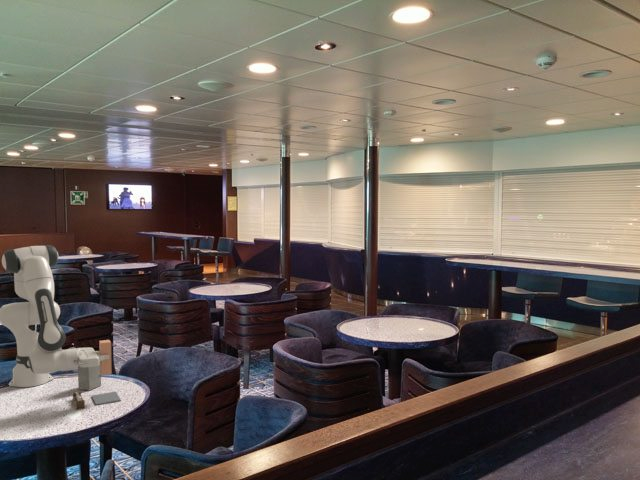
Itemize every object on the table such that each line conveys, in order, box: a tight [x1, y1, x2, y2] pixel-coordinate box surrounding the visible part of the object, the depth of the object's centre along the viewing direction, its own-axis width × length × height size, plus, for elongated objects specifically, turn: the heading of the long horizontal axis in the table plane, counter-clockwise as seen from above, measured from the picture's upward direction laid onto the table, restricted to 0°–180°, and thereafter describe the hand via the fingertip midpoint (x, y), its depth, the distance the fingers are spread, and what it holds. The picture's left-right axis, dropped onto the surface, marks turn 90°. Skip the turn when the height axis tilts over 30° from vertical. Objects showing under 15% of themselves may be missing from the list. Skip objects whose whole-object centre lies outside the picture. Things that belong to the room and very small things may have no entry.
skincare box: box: [77, 361, 102, 391], centre depth 241 cm, size 8×7×16 cm
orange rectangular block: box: [98, 339, 113, 376], centre depth 226 cm, size 5×4×14 cm
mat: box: [91, 391, 121, 406], centre depth 227 cm, size 12×10×1 cm
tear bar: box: [72, 390, 86, 410], centre depth 221 cm, size 14×3×3 cm, turn 31°
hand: (107, 354), depth 226 cm, fingers closed on orange rectangular block, 5 cm apart
